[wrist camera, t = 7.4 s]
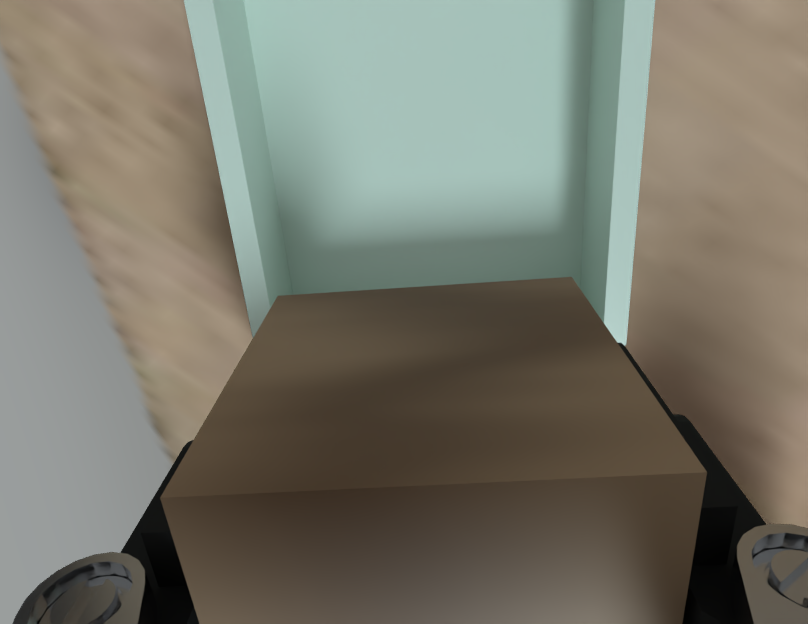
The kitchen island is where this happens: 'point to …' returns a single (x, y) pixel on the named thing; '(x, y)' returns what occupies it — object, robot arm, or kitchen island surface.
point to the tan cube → (437, 468)
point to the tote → (427, 142)
